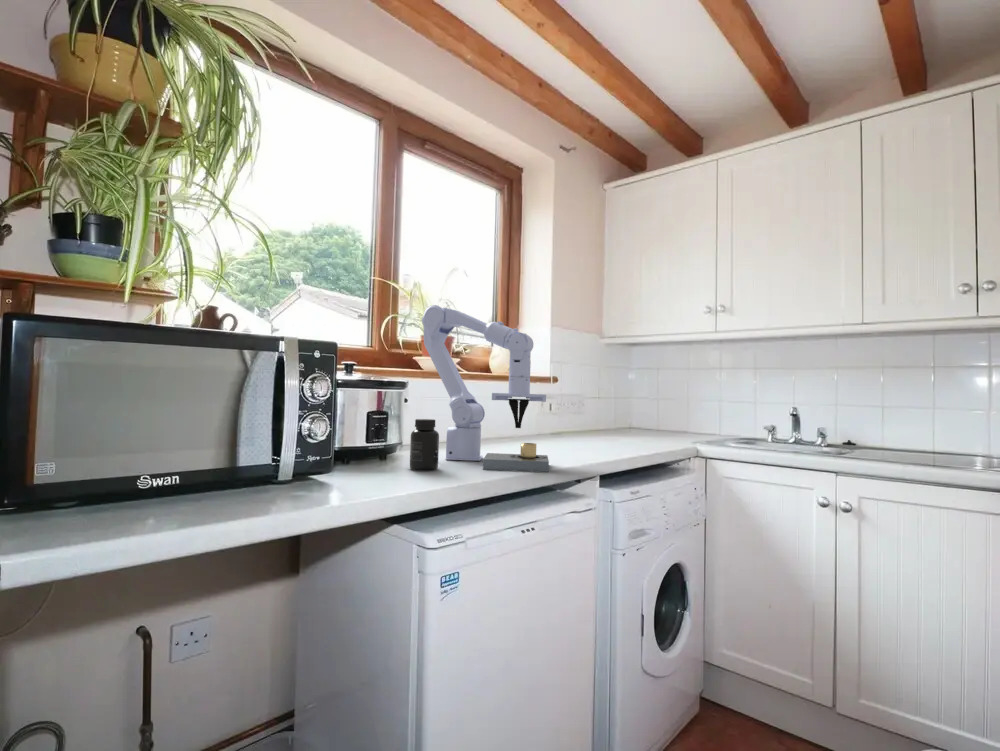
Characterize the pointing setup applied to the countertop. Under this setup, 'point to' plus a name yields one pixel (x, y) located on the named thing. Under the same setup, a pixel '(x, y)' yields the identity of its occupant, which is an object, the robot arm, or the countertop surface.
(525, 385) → the robot arm
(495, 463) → the jig
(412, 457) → the supplement bottle
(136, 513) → the countertop surface
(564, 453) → the countertop surface
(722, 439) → the countertop surface
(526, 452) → the bushing
